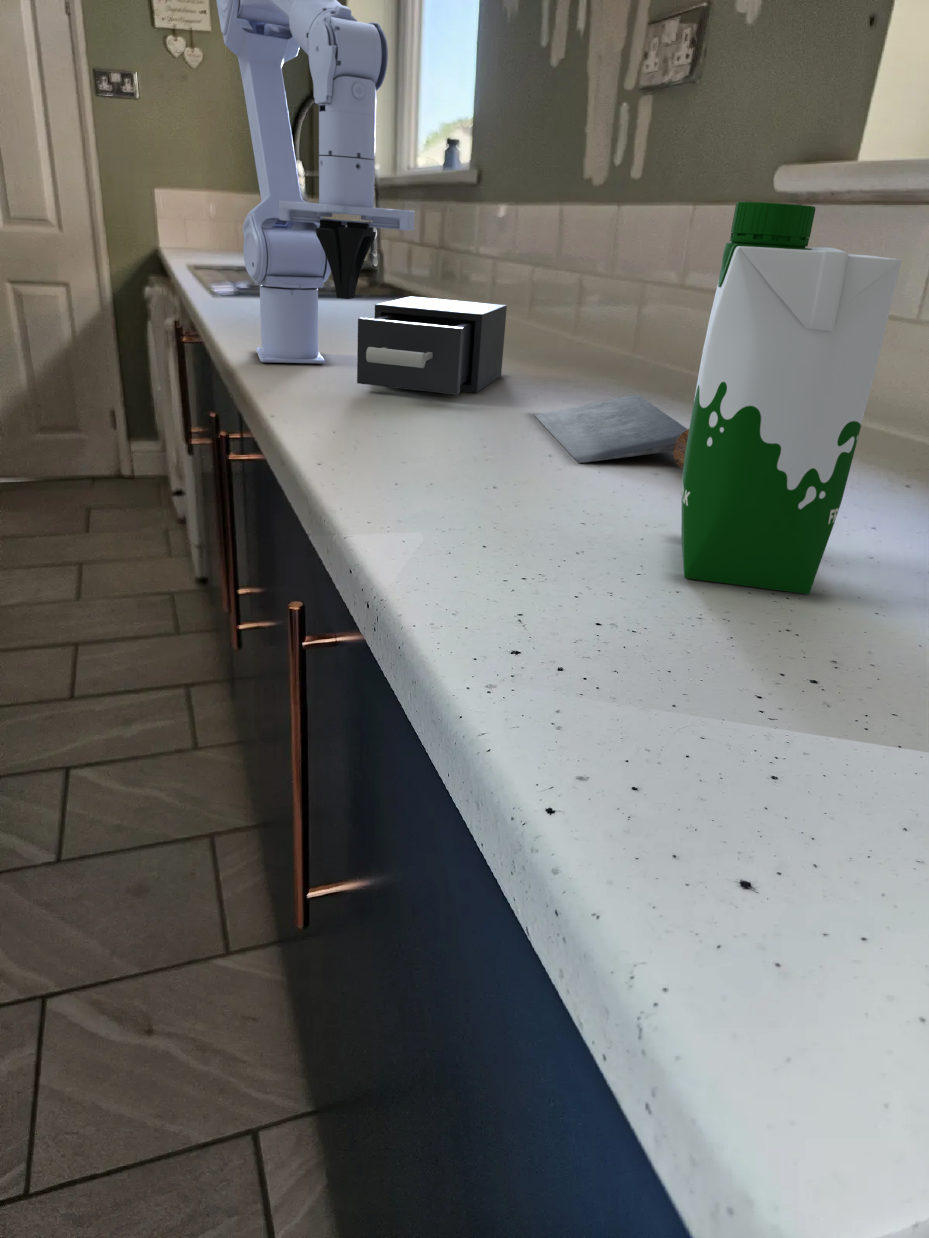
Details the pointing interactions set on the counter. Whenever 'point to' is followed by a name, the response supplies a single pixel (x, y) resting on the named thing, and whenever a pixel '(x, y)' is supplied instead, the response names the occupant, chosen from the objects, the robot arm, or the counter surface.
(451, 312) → the small drawer unit
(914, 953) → the counter surface
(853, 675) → the counter surface
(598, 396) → the counter surface
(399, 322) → the dark drawer box
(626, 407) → the meat cleaver
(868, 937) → the counter surface
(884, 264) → the milk carton
